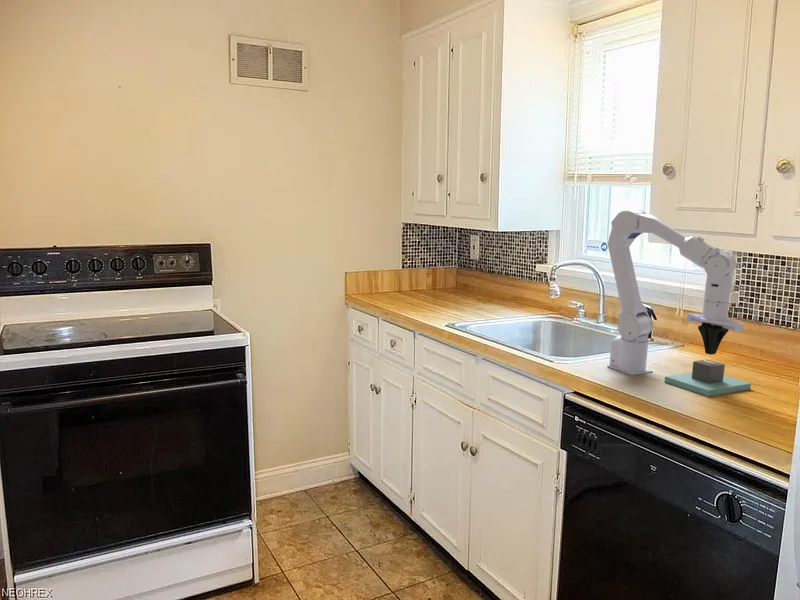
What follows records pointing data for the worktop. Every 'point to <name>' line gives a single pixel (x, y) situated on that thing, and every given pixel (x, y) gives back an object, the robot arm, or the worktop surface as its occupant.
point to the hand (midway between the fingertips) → (710, 353)
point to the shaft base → (705, 388)
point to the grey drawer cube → (708, 371)
